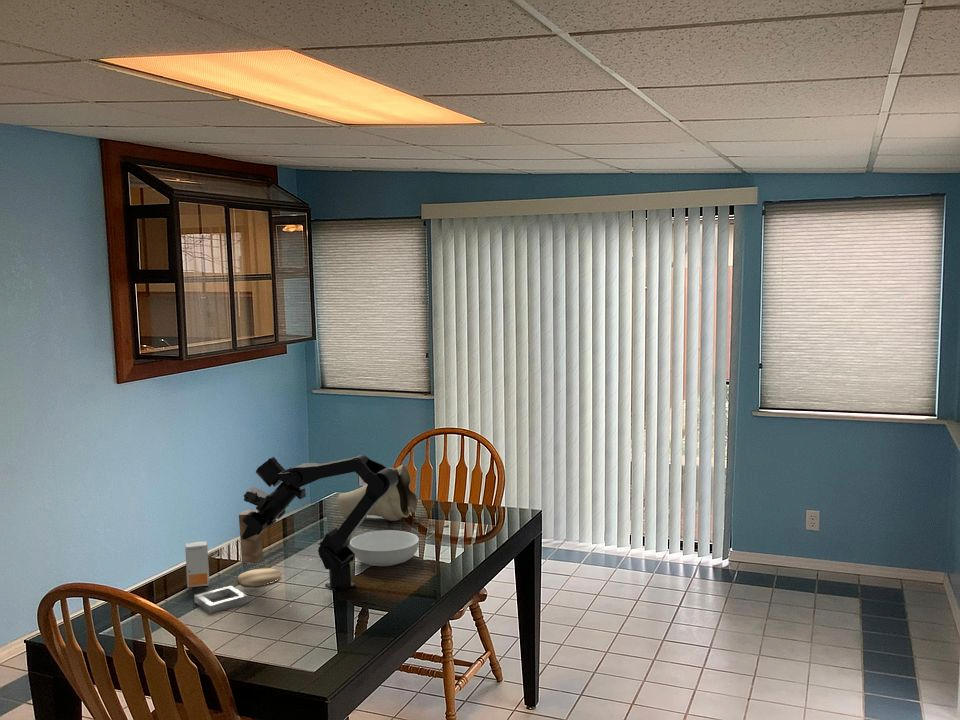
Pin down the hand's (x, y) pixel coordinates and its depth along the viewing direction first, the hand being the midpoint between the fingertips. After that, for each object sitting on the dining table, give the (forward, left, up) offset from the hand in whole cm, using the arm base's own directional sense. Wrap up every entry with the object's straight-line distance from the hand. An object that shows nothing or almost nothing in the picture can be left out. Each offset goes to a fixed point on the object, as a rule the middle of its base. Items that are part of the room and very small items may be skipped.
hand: (246, 535), depth 256 cm
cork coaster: (0, -3, -13) cm, 14 cm away
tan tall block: (-1, -1, -7) cm, 7 cm away
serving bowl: (-13, -38, -14) cm, 43 cm away
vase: (+28, -61, -14) cm, 68 cm away
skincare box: (+8, +12, -14) cm, 20 cm away
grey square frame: (-10, +13, -13) cm, 21 cm away
